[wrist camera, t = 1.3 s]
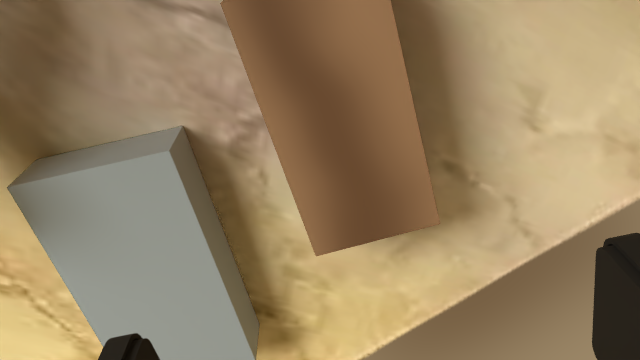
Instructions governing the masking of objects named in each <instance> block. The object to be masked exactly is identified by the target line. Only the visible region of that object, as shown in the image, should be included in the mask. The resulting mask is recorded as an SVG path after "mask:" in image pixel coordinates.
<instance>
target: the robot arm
mask: <svg viewBox="0 0 640 360" xmlns="http://www.w3.org/2000/svg"><path fill="white" fill-rule="evenodd" d="M595 266H596V267H595V288H594V289H595V290H594V311H593V335H592V336H593V337H592V345H593V350H594V353H595V355H596V358H597V360H640V234H639V233H633V234H628V235H623V236H618V237H613V238H608V239H606V240H605V242H604V246H603V247H601V248H598V249H597V251H596V265H595ZM98 360H160V358H159V356H158V355H157V353H156V351H155V349H154V347H153V345H152V343H151V342H150V340H149V339H147V338H144V339H143V338H142V337H141V335H139V334H138V333H133V334H128V335H123V336H118V337H113V338H110V339H108V340H107V342H106V343H105V345H104V347H103V350H102V352H101V354H100V356H99V358H98Z"/></svg>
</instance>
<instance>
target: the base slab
mask: <svg viewBox="0 0 640 360" xmlns="http://www.w3.org/2000/svg"><path fill="white" fill-rule="evenodd" d="M7 188H8V190H9V192H10V193H11V195H12V197H13V198H14V200H15V202H16V203H17V205H18V207H19V208H20V210H21V212H22V213H23V215H24V217H25V218H26V220H27V221H28V223H29V225H30V226H31V228H32V230H33V231H34V233H35V235H36V236H37V238H38V240H39V241H40V243H41V245H42V246H43V248H44V250H45V251H46V253H47V255H48V256H49V258H50V260H51V261H52V263H53V264H54V266H55V268H56V269H57V271H58V273H59V274H60V276H61V278H62V279H63V281H64V283H65V284H66V286H67V288H68V289H69V291H70V293H71V294H72V296H73V298H74V299H75V301H76V303H77V304H78V306H79V307H80V309H81V311H82V312H83V314H84V316H85V317H86V319H87V321H88V322H89V324H90V326H91V327H92V329H93V331H94V332H95V334H96V336H97V337H98V339H99V341H100V342H101V344H102V345H103V347H104V345H105V343H106V342H107V340H108V339H110V338H113V337H118V336H123V335H128V334H133V333H138V334H139V335H141V337H142V338H143V339H144V338H147V339H149V340H150V342H151V343H152V345H153V347H154V349H155V351H156V353H157V355H158V356H159V358H160V360H256V354H257V344H258V335H259V325H260V324H259V322H258V319H257V317H256V314H255V311H254V309H253V306H252V304H251V301H250V298H249V296H248V293H247V291H246V288H245V285H244V283H243V280H242V278H241V275H240V273H239V270H238V267H237V265H236V262H235V260H234V257H233V254H232V252H231V249H230V247H229V244H228V241H227V239H226V236H225V234H224V231H223V229H222V226H221V223H220V221H219V218H218V216H217V213H216V210H215V208H214V205H213V203H212V200H211V197H210V195H209V192H208V190H207V187H206V185H205V182H204V179H203V177H202V174H201V172H200V169H199V166H198V164H197V161H196V159H195V156H194V154H193V151H192V148H191V146H190V143H189V141H188V138H187V135H186V133H185V130H184V128H183V126H180V127H176V128H171V129H167V130H163V131H158V132H154V133H150V134H145V135H141V136H137V137H132V138H128V139H124V140H119V141H115V142H111V143H106V144H102V145H98V146H93V147H89V148H85V149H80V150H76V151H71V152H67V153H63V154H58V155H54V156H50V157H45V158H41V159H37V160H36V161H35V162H33V163H32V164H31V165H30V166H29V167H28V168H27V169H26V170H25V171H24V172H23V173H22V174H21V175H20V176H19V177H17V178H16V179H15V180H14V181H13V182H12V183H11V184H10V185H9V186H8V187H7Z"/></svg>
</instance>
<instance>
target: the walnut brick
mask: <svg viewBox="0 0 640 360" xmlns="http://www.w3.org/2000/svg"><path fill="white" fill-rule="evenodd" d="M220 4H221V6H222V9H223V12H224V14H225V17H226V19H227V22H228V25H229V27H230V30H231V33H232V35H233V38H234V41H235V43H236V46H237V49H238V51H239V54H240V57H241V59H242V62H243V64H244V67H245V70H246V72H247V75H248V78H249V80H250V83H251V86H252V88H253V91H254V94H255V96H256V99H257V102H258V104H259V107H260V109H261V112H262V115H263V117H264V120H265V123H266V125H267V128H268V131H269V133H270V136H271V139H272V141H273V144H274V147H275V149H276V152H277V154H278V157H279V160H280V162H281V165H282V168H283V170H284V173H285V176H286V178H287V181H288V184H289V186H290V189H291V191H292V194H293V197H294V199H295V202H296V205H297V207H298V210H299V213H300V215H301V218H302V221H303V223H304V226H305V229H306V231H307V234H308V236H309V239H310V242H311V244H312V247H313V250H314V252H315V255H316V256H319V255H323V254H327V253H331V252H334V251H338V250H342V249H346V248H350V247H353V246H357V245H361V244H365V243H369V242H373V241H376V240H380V239H384V238H388V237H392V236H395V235H399V234H403V233H407V232H411V231H414V230H418V229H422V228H426V227H430V226H434V225H437V224H440V221H439V216H438V212H437V207H436V203H435V198H434V194H433V189H432V185H431V180H430V176H429V171H428V167H427V162H426V158H425V153H424V149H423V144H422V140H421V135H420V131H419V126H418V122H417V117H416V112H415V108H414V103H413V99H412V94H411V90H410V85H409V81H408V76H407V72H406V67H405V63H404V58H403V54H402V49H401V45H400V40H399V36H398V31H397V27H396V22H395V18H394V13H393V9H392V4H391V0H223V1H222V2H221V3H220Z"/></svg>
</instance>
